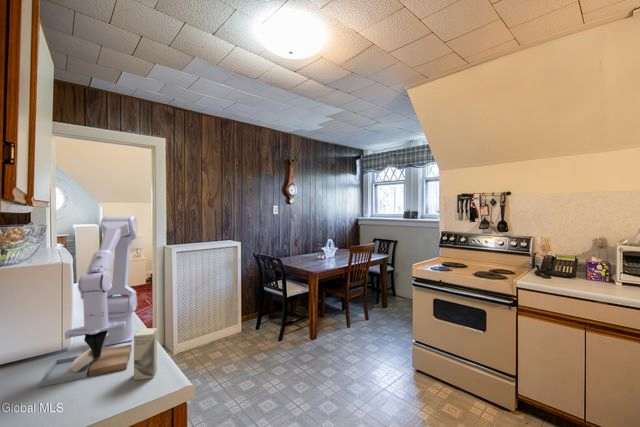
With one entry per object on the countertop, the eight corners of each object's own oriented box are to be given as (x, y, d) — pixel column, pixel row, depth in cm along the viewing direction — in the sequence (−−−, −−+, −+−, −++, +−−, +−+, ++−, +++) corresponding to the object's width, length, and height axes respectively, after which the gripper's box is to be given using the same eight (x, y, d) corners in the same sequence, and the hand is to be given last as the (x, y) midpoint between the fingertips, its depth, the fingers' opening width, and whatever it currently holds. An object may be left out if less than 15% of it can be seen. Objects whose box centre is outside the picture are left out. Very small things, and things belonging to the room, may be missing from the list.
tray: (55, 364, 91) (55, 359, 91) (96, 356, 95) (96, 352, 95) (40, 387, 80) (40, 381, 80) (86, 377, 84) (86, 372, 84)
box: (133, 381, 83) (132, 335, 82) (138, 372, 87) (137, 329, 86) (154, 378, 84) (153, 333, 83) (158, 369, 88) (157, 327, 88)
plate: (98, 356, 95) (98, 350, 95) (131, 350, 99) (131, 344, 99) (88, 376, 85) (88, 370, 84) (126, 369, 89) (126, 362, 88)
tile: (79, 364, 90) (74, 359, 90) (96, 351, 92) (91, 347, 91) (75, 372, 86) (70, 368, 85) (92, 359, 88) (87, 355, 87)
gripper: (60, 321, 83) (62, 369, 83) (122, 312, 89) (124, 357, 90) (68, 312, 89) (70, 357, 90) (125, 305, 95) (127, 346, 96)
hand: (97, 356), depth 90 cm, fingers closed
